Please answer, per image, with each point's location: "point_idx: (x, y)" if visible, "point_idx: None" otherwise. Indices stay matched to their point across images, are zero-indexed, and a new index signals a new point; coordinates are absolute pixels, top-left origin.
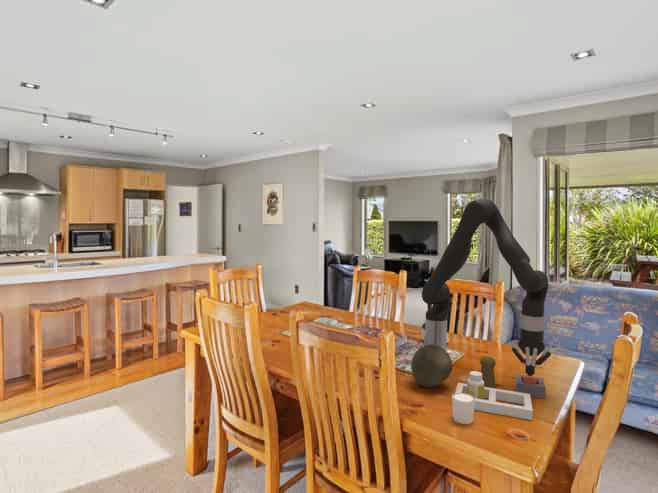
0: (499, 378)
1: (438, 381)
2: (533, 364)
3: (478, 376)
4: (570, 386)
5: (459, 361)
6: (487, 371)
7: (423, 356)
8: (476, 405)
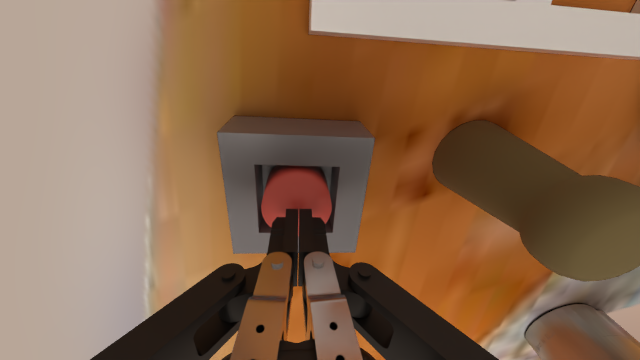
0: (395, 248)
1: None
2: (275, 261)
3: None
4: (146, 270)
5: (492, 321)
6: (557, 164)
7: None
8: None
